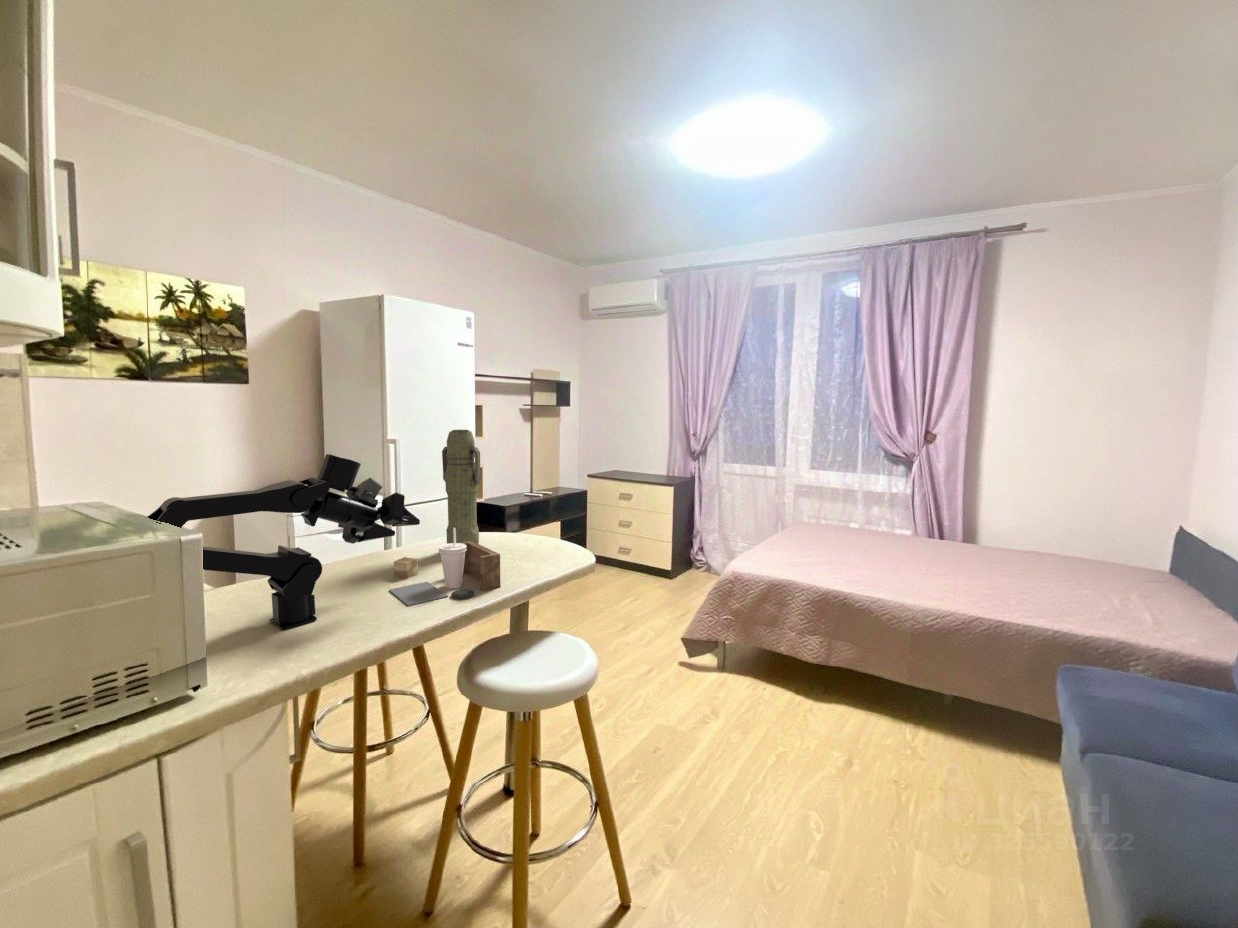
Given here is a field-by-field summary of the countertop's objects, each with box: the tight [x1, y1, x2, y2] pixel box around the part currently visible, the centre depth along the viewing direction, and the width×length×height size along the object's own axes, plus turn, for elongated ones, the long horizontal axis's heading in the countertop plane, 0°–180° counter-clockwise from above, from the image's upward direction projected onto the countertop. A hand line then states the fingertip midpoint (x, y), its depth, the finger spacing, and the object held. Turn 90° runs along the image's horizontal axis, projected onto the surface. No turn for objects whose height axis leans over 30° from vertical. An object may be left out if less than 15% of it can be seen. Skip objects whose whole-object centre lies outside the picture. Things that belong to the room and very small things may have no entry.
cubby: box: [462, 541, 501, 592], centre depth 138 cm, size 5×15×8 cm, turn 40°
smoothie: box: [438, 528, 467, 590], centre depth 133 cm, size 6×6×14 cm
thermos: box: [441, 429, 481, 544], centre depth 161 cm, size 9×12×35 cm
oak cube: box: [393, 556, 419, 580], centre depth 141 cm, size 4×4×4 cm
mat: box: [388, 581, 449, 607], centre depth 129 cm, size 9×12×1 cm
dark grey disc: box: [450, 588, 475, 601], centre depth 128 cm, size 5×5×1 cm
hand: (406, 528), depth 129 cm, fingers open, 9 cm apart
